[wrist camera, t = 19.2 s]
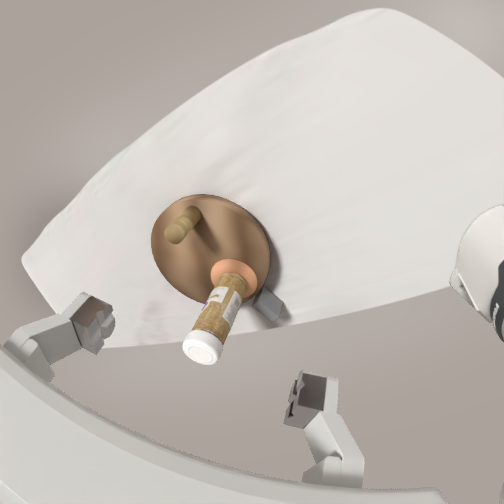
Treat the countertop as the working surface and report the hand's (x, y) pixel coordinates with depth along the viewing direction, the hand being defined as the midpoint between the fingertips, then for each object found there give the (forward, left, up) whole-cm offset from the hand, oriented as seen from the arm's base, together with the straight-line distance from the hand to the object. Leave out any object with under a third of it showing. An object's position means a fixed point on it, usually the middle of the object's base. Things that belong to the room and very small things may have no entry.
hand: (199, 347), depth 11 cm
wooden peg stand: (-1, +18, -29) cm, 34 cm away
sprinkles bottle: (-6, +18, -26) cm, 32 cm away
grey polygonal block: (-13, +18, -29) cm, 37 cm away
